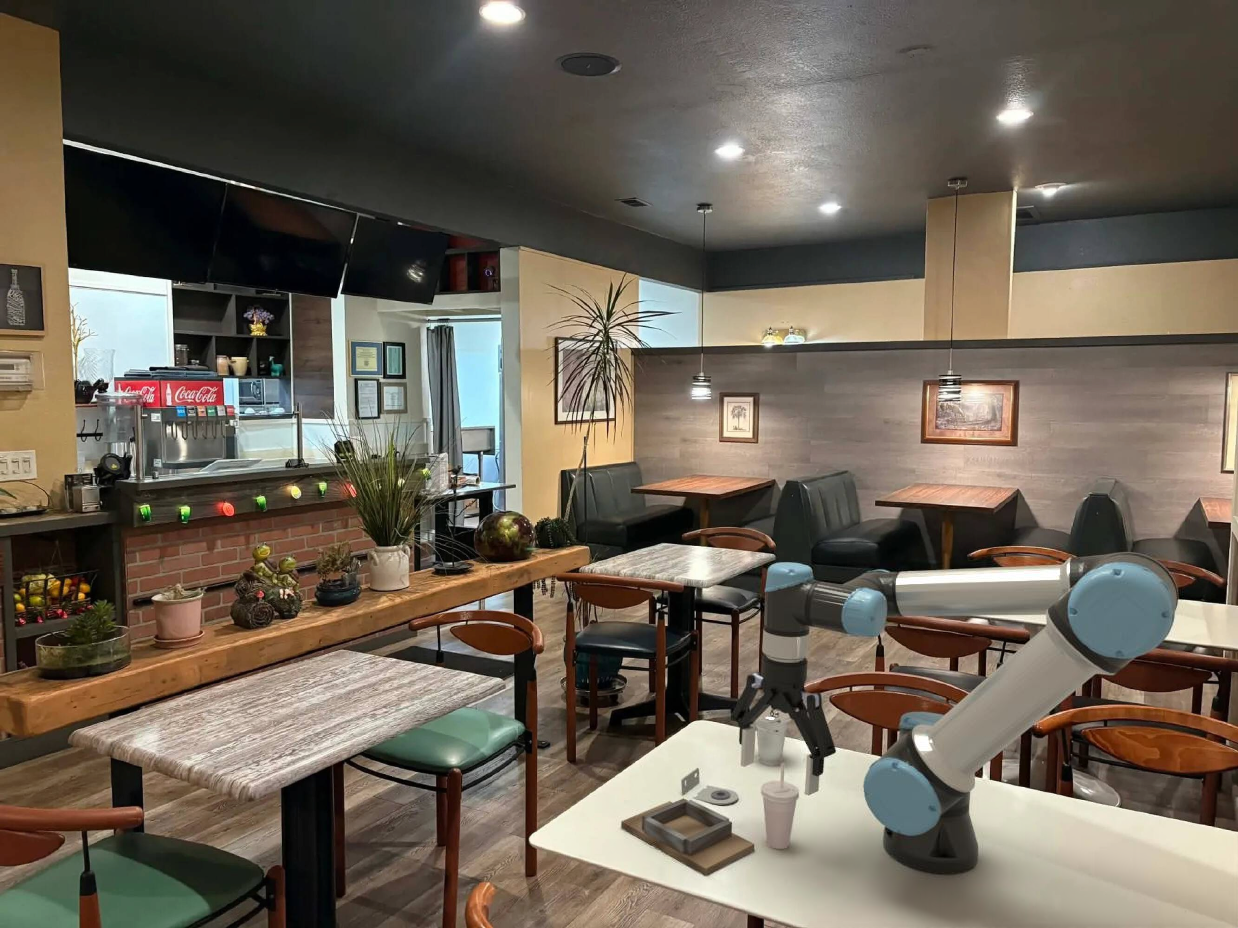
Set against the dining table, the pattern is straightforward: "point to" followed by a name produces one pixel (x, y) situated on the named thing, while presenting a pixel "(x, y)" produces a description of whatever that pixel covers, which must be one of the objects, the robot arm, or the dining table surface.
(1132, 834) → the dining table surface
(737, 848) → the keeper board
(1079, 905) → the dining table surface
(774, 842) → the smoothie
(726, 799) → the grey arched plates
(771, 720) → the domed lid cup
